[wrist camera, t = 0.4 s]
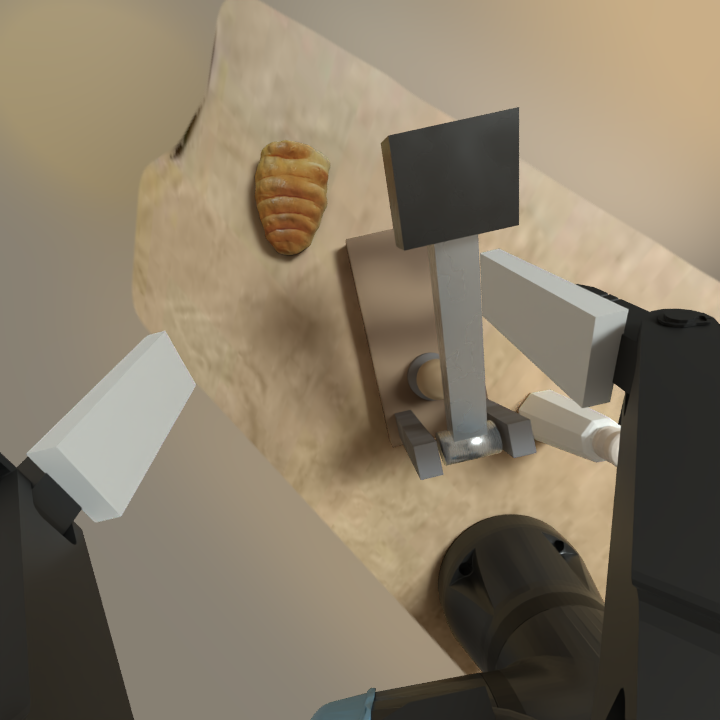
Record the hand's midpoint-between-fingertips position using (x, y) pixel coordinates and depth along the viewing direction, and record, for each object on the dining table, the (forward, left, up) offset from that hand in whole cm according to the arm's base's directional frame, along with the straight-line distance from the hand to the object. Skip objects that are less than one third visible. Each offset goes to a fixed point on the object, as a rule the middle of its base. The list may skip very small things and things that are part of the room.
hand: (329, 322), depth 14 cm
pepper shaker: (-13, -18, -20) cm, 30 cm away
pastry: (+13, +1, -20) cm, 24 cm away
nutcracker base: (-2, -7, -20) cm, 21 cm away
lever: (-1, -7, -8) cm, 11 cm away
